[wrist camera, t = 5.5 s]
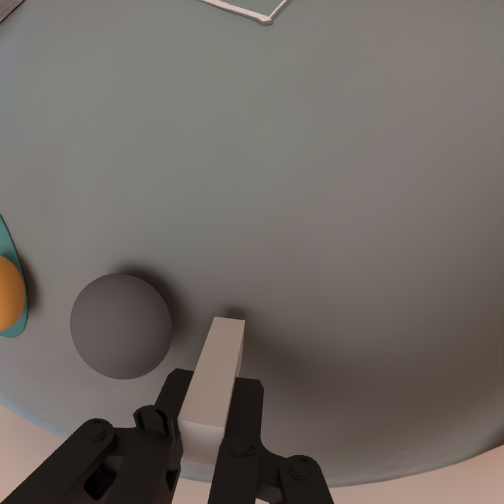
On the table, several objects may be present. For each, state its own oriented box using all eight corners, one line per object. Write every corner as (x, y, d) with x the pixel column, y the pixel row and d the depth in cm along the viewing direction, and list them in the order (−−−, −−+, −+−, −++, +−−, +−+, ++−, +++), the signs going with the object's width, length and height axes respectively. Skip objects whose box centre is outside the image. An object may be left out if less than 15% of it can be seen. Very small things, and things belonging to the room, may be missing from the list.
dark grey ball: (36, 345, 10) (74, 294, 16) (119, 414, 12) (135, 353, 18) (97, 280, 10) (130, 239, 15) (193, 369, 12) (195, 307, 17)
